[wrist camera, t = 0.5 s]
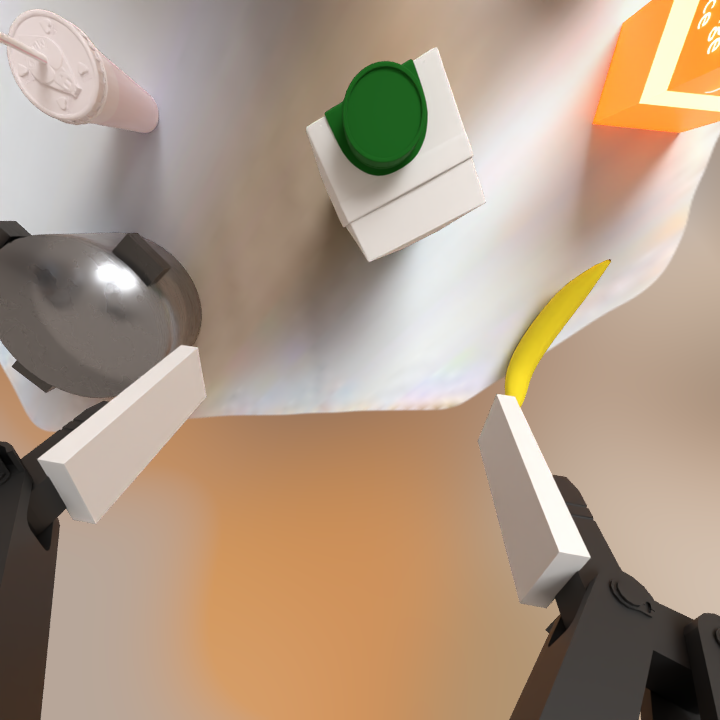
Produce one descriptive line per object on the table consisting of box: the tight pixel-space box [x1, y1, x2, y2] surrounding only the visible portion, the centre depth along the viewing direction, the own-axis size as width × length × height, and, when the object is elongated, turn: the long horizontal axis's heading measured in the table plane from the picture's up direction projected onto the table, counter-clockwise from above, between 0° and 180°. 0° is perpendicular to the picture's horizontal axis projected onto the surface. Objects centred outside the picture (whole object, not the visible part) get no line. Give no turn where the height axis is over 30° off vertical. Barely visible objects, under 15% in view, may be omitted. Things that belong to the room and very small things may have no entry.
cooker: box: [0, 221, 202, 398], centre depth 35 cm, size 18×21×9 cm
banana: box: [505, 259, 611, 407], centre depth 37 cm, size 3×19×6 cm, turn 158°
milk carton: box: [306, 47, 486, 262], centre depth 25 cm, size 9×9×20 cm
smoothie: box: [0, 9, 159, 133], centre depth 26 cm, size 6×6×14 cm
